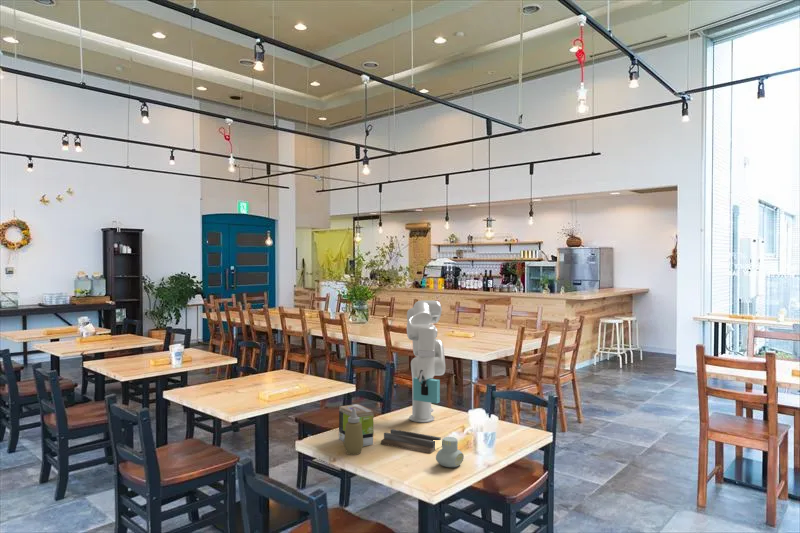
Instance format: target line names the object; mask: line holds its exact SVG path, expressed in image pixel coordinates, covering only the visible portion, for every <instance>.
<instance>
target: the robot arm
mask: <svg viewBox="0 0 800 533" xmlns="http://www.w3.org/2000/svg"><path fill="white" fill-rule="evenodd" d="M442 311H443V309H442V305H441V303H440V301H439V300H418V301H416V302H415V303H414V304H413V305H412V307H411V308H409V309H408V310H407V311H406V322H407V323H406V335H407V338H408V340H410V341H412V352H413V355H414V356H415V357H414V358H412V359H411V361H410V370H411V378H412V379H411V380H412V382H411V383H412V388H411V390H412V391H411V392H412V394H411V395H412V400H411V401H412V403H411V405H412V408H411V409H412V414H410V415H409V418H408V420H410V421H411V422H415V423H430V422H433V421H434V420H435V416H434V415H432V413H433V412H434V411H435V410H434V408H433V407H432V403H430V402H423V401H416V400H413V378H415V377H417V379H419V382H420V383H421V395H428V386H427V380H428V379H435V378H434V377H435V376H437V377H438V376H439V377H440V376H444V374H445V373H446V358H445V357H446V356H445V348H444V343H443V341H442V340H441V339H438V338H437V337H438V328H437V327H436V325H434V324H437V323H439V321H440V319H441V316H442V313H443V312H442ZM423 378H424V379H423ZM424 381H425V382H424Z"/></svg>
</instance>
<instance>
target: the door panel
mask: <svg viewBox="0 0 800 533" xmlns="http://www.w3.org/2000/svg"><path fill="white" fill-rule="evenodd" d="M423 379H424V378H423ZM424 382H425V381H424ZM440 382H441V379H435V378H433V379H428V380H427V386H428V395H421V383H420V382H419V379H417V377H415V378H413V400H416V401H423V402H430V403H431V404H438V403H440V402H441V397H440V396H441V393H440V392H441V390H440V389H441V383H440Z"/></svg>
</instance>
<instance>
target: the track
mask: <svg viewBox="0 0 800 533" xmlns="http://www.w3.org/2000/svg"><path fill="white" fill-rule="evenodd" d="M433 440H441V437H440V436H435V435H429V434H423V433H417V432H411V431H407V430H406V431H405V430H400V429H395V428H391V429H390V432H386V431H385V432H384V433H383V439H380V444H381V445H384V446H385V445H386V446H390V447H395V448H401V449H406V450H410V451H411V450H412V451H417V452H422V453H427V454H433V453H434V452H435V451H436V450H435V441H433ZM441 441H442V440H441Z"/></svg>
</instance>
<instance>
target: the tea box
mask: <svg viewBox="0 0 800 533" xmlns="http://www.w3.org/2000/svg"><path fill="white" fill-rule="evenodd" d="M338 408H339V410H338V413H339V414H338V416H339V417H338V439H339V440H340V441H342V442H344V438H345V428H346V424H347V423H348V418H349V417H351V413H352V409H353V408H355V410H356V414H357V417H359V418H360V419H359V422H360V423H361V424H362V433H363V447H366V446H372V445H374V415H375V414H374V412H375V411H374V410H372V409H370V408H368V407H366V406H363V405H361V404H359V403H357V404H349V405H348V404H347V405H341V406H339V407H338Z"/></svg>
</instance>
